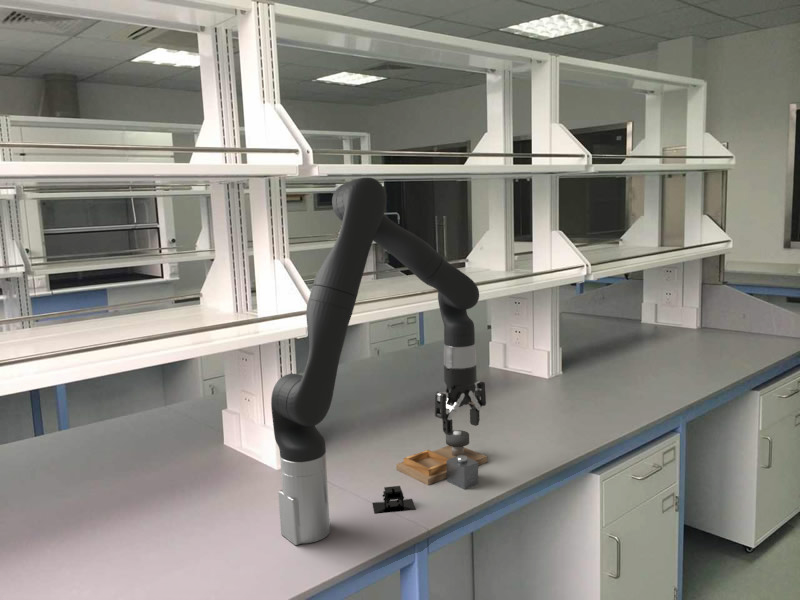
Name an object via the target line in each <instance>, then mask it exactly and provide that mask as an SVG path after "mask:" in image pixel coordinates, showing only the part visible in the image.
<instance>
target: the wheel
mask: <svg viewBox="0 0 800 600" xmlns="http://www.w3.org/2000/svg"><path fill="white" fill-rule="evenodd" d="M445 444H446V446H452V447H463V446H464V447H467V446H469V444H470V433H469V432H468V431H465V430H460V429H459V430H458V429H453V434H452V435H447V434H445Z"/></svg>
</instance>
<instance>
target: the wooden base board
mask: <svg viewBox="0 0 800 600" xmlns="http://www.w3.org/2000/svg"><path fill="white" fill-rule="evenodd" d="M459 455H465V456H467V458H469V459H472V460H474V461H476V462H478V466H480V465H483V464H485V463H487V462H488V456H487V455H484V454H482V453H479V452H477V451H474V450H472V449H469V448H466V447H465V446H463V447H452V446H449V445H446V446H444V447H441V448H438V449H436V450H431V449H427V450H424V451H423V450H422V451H420V452H417V453H415V454H412V455H409V456H406V457H404V458H403V461H401V462H399V463H396V471H398V472H400V473H402V474H404V475H406V476H408V477H410V478H413V479H414V480H416V481H419V482H421V483H423V484H424V485H426V486H429V485H432V484H434V483H437V482H440V481H442V480H444V479H447V462H446V460H448V459H451V458H453V457H456V456H459Z"/></svg>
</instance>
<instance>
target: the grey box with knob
mask: <svg viewBox="0 0 800 600" xmlns="http://www.w3.org/2000/svg"><path fill="white" fill-rule="evenodd" d="M446 462H447V478H446V482H447V483H449V484H451V485H454V486H456V487H458V488H460V489H462V490H467V489H470V488H472V487H475V486H476V485H478V484H479V465H478V462H476V461H474V460H472V459H469V458H467V456H465V455H459V456H456V457H453V458H451V459H448V460H446Z"/></svg>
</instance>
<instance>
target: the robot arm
mask: <svg viewBox="0 0 800 600" xmlns="http://www.w3.org/2000/svg"><path fill="white" fill-rule="evenodd" d="M387 202H388V201H387V193H386V189H385V188H384V186H383V184H382V183H381V182H380V181H379V180H377V179H375V178H373V177H361V178H356V179H353V180H351V181H347V182H345V183H343V184H341V185H340V186H338V187H337V188H336V189H335V190H334V192H333V194H332V197H331V205H332V209H333V212H334V213H335V215H336V216H337V218H338V219H339V220H340V221H341V222H342V223H341V225H340V230H339V233H338V236H337V239H336V240H335V243H334V245H333V246H332V247H331V250H330V252H329V253H328V254H327V256H326V258H325V259H324V261H323V263H322V264H321V266H320V268H319V270H318V272H317V273H316V275H315V278H314V281H313V283H312V287H311V290H310V295H309V297H308V300H307V304H306V311H305V312H306V316H305V317H306V326H307V332H308V343H309V345H308V346H309V348H308V357H307V360H306V363H305V364H306V365H305V368H304V371H303V374H298V373H287V374H285V375H283V376H281V377H280V378H279V379H278V380H277V382H276V383H275V385H274V387H273V389H272V392H271V399H270V404H271V417H272V425H273V434H274V435H273V436H274V440H275V442H276V445H277V446H278V449H279V459H280V460H279V461H280V475H281V478H280V479H281V489H280V490H278V492H277V495H278V505H279V506H278V508H279V521H280V525H279V526H280V535H282V537H284V538H285V539H286V540H289V542H291V543H292V544H293V545H294V546H299V545H302V544H310V543H316V542H319V541H321V540H323V539H325V538H326V537H327V536H328V535H329V534H330V532H331V525H330V522H331V521H330V520H331V519H330V506H329V505H330V503H329V488H328V470H327V450H326V449H327V448H326V447H327V446H326V440H325V437H324V436H323V435H322V434H321V432H320V431H319V430H318V428H317V427H316V426H317V425H319V424H320V423H321V422H322V421H323V420H324V419H325V418H326V416H327V414H328V412H329V410H330V408H331V404H332V401H333V396H334V390H335V385H336V379H337V375H338V374H337V373H338V370H339V369H338V368H339V363H340V359H341V355H342V351H343V347H344V343H345V339H346V335H347V331H348V328H349V324H350V321H351V319H352V315H353V312H354V309H355V306H356V302H357V297H358V294H359V290H360V287H361V283H362V278H363V275H364V272H365V269H366V265H367V260H368V257H369V253H370V250H371V247H372V244H373V242H374V243H376V244H377V245H378V246H380V247H381V248H383V249H384V250H385V251H386V252H387V253H389V254H391V256H393V257H394V258H395V259H396V260H398V261H399V262H400V263H401V264H402V265H403V266H405V268H407V269H408V270H409V271H410V272H411V273H412V274H413V275H414V276H416V277H417V278H418V279H419V280H420V281H421V282H422V283H424V284H426V285H427V286H429V287H432V288H434V289H435V290H436V291H437V302H438V306H439V311H440V317H441V319H442V322H443V339H444V340H443V342H444V343H443V345H444V346H443V378H444V379H443V381H444V383H445V385H446V389H445V391H442V392H440V391H436V392H435V394H434V395H435V396H434V397H435V399H434V401H435V403H434V405H435V406H434V416H435V418H438V419H441V420H442V432H443V433H444V435H446V434H447V435H452V434H453V430H454V429H453V419H452V418H453V416H454V414H455V413H456V412H457V411H458V410H459V408H461V407H463V406H467V405H468V406H469V408H470V409H469V423H470V425H472V426H475V427H476V426H479V424H480V421H481V420H480V411H481V409H482V407H485V406H486V404H487V398H486V397H487V395H486V384H485V382H484V381H481V380H478V378H477V352H476V336H475V334H476V333H475V323H474V321H473V320H472V319H471V317H469V315H468V312H467V310H470V309H472V308H473V307H476V305H477V304H478V302H479V300H480V291H479V290H480V289H479V287H478V285H477V284H476V282H475V281H474V280H473V279H472V278H471V277H469V276H468V275H467V274H466V273H464V272H463V271H461V270H460V269H458V268H457V267H455V266H453V265H452V264H451V263H449V262H448V261H447V260H446V259H445V258H444V256H442V255H441V254H440V253H439V252H438V251H436V250H435V249H434V248H433V247H432V246H431V245H430V244H429V243H428V242H426V241H425V240H424V239H422V238H421V237H419V236H417V235H416V234H414V233H413V232H410V231H409V230H407V229H405V228H403V227H402V226H400V225H398V224H397V223H396V222H394V221H393V220H391V219H390V218H389V217H388V216H387V215H385V211H386V207H387Z"/></svg>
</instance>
